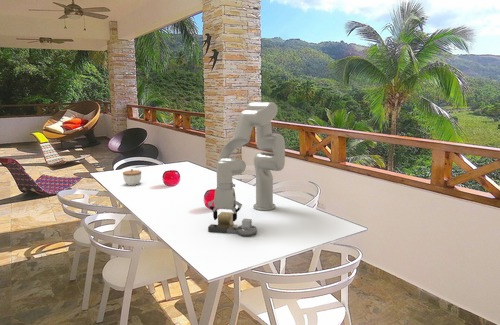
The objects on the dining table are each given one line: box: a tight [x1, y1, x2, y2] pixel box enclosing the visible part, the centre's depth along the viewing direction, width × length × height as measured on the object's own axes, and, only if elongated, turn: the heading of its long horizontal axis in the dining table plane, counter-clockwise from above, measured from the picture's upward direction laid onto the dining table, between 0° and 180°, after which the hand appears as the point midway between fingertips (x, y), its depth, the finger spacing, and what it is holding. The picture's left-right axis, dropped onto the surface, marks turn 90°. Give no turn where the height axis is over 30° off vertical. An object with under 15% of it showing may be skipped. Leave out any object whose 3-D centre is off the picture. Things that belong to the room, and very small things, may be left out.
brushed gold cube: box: [217, 211, 234, 227], centre depth 197 cm, size 6×6×6 cm
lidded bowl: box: [122, 169, 142, 186], centre depth 286 cm, size 13×13×11 cm
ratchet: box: [207, 218, 258, 238], centre depth 188 cm, size 9×23×6 cm, turn 75°
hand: (225, 219), depth 196 cm, fingers open, 9 cm apart
